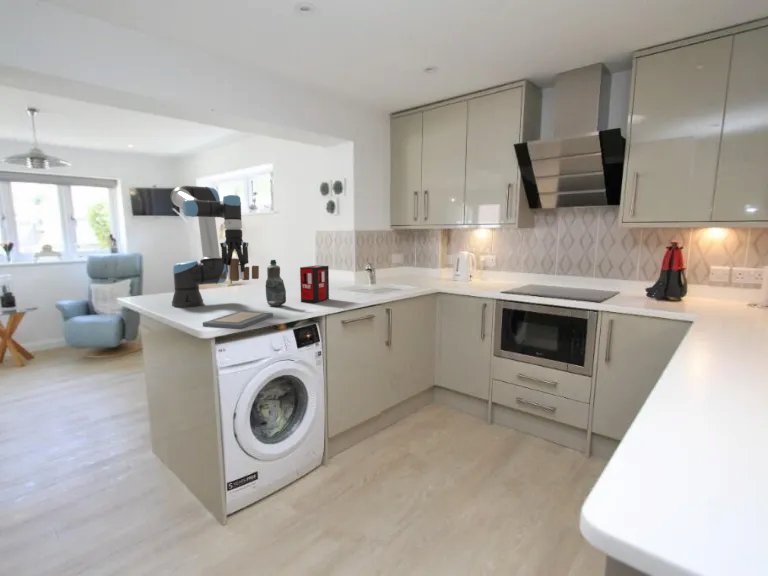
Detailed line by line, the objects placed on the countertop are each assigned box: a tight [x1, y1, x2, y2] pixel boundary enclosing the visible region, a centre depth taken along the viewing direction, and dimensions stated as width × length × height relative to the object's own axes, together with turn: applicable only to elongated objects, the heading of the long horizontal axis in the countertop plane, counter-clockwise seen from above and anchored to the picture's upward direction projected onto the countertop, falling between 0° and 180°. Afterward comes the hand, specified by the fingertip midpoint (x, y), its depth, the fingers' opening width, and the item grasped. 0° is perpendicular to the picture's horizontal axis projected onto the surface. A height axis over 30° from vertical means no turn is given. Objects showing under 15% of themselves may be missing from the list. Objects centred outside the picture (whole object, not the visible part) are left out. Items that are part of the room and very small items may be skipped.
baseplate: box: [202, 310, 274, 330], centre depth 177 cm, size 18×26×2 cm
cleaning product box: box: [299, 265, 330, 304], centre depth 232 cm, size 16×9×20 cm, turn 159°
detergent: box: [265, 259, 287, 307], centre depth 214 cm, size 13×7×25 cm, turn 67°
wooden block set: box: [219, 257, 260, 282], centre depth 192 cm, size 18×9×10 cm, turn 112°
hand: (236, 278), depth 188 cm, fingers open, 5 cm apart
